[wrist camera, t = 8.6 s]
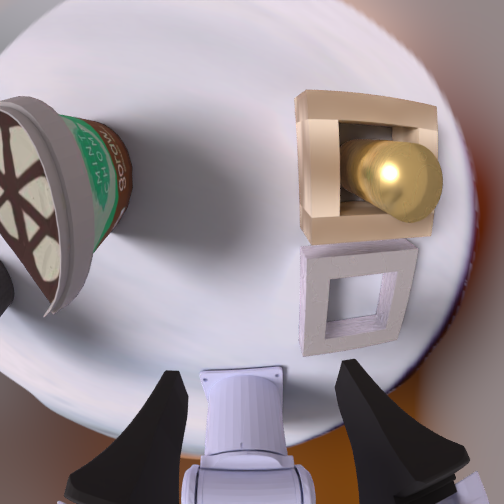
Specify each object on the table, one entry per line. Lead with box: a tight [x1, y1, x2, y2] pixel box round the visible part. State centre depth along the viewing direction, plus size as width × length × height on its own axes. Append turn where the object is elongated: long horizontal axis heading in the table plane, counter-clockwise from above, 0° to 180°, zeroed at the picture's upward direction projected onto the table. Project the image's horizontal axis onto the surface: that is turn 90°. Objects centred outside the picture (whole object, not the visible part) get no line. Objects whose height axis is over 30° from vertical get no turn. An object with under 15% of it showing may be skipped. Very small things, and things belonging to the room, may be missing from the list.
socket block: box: [299, 238, 418, 357], centre depth 21 cm, size 9×9×2 cm
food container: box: [0, 96, 133, 318], centre depth 12 cm, size 12×6×10 cm, turn 30°
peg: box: [339, 139, 443, 223], centre depth 14 cm, size 4×4×7 cm
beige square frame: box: [294, 90, 438, 245], centre depth 16 cm, size 9×9×4 cm
